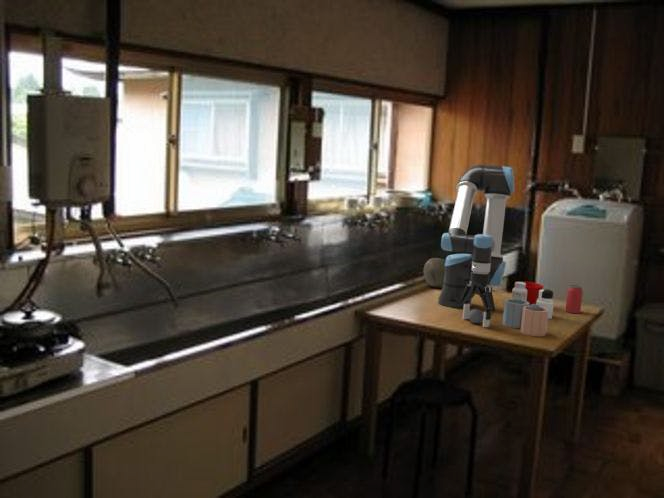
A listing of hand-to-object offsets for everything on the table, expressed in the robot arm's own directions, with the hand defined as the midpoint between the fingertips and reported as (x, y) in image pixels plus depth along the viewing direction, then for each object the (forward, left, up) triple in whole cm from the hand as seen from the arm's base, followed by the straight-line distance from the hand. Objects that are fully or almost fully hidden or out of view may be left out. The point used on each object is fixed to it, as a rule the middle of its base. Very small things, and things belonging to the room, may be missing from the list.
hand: (475, 322), depth 306 cm
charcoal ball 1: (0, 0, 0) cm, 0 cm away
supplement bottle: (-13, +35, 0) cm, 37 cm away
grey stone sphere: (-65, +27, 0) cm, 70 cm away
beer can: (-4, +60, 0) cm, 60 cm away
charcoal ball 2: (+20, +14, +6) cm, 25 cm away
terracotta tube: (+19, +14, 0) cm, 24 cm away
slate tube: (+7, +15, 0) cm, 17 cm away
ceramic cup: (-22, +48, 0) cm, 53 cm away
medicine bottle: (-1, +39, 0) cm, 39 cm away
